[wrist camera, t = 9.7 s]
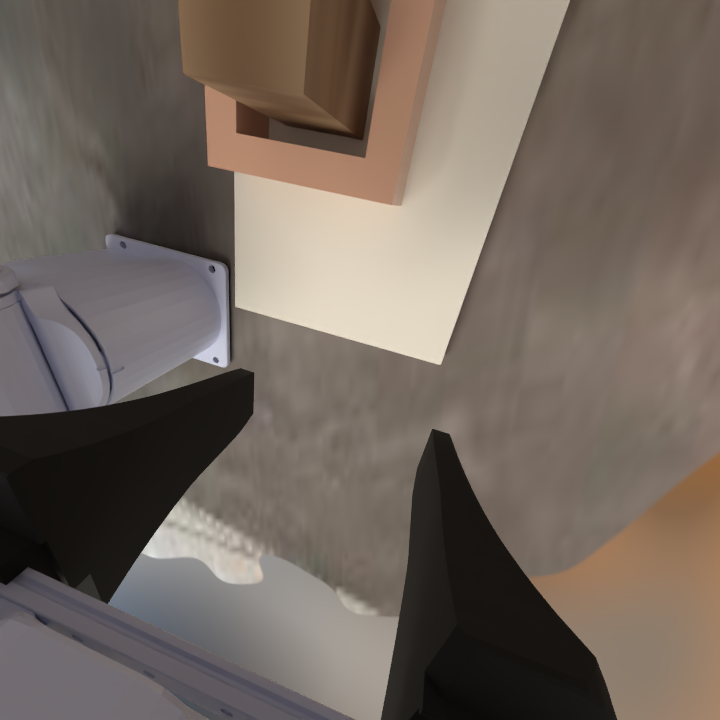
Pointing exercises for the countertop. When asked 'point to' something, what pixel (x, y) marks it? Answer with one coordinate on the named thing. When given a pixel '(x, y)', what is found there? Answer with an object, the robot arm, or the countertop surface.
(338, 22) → the walnut block
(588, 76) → the countertop surface
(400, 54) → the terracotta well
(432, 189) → the cream board
